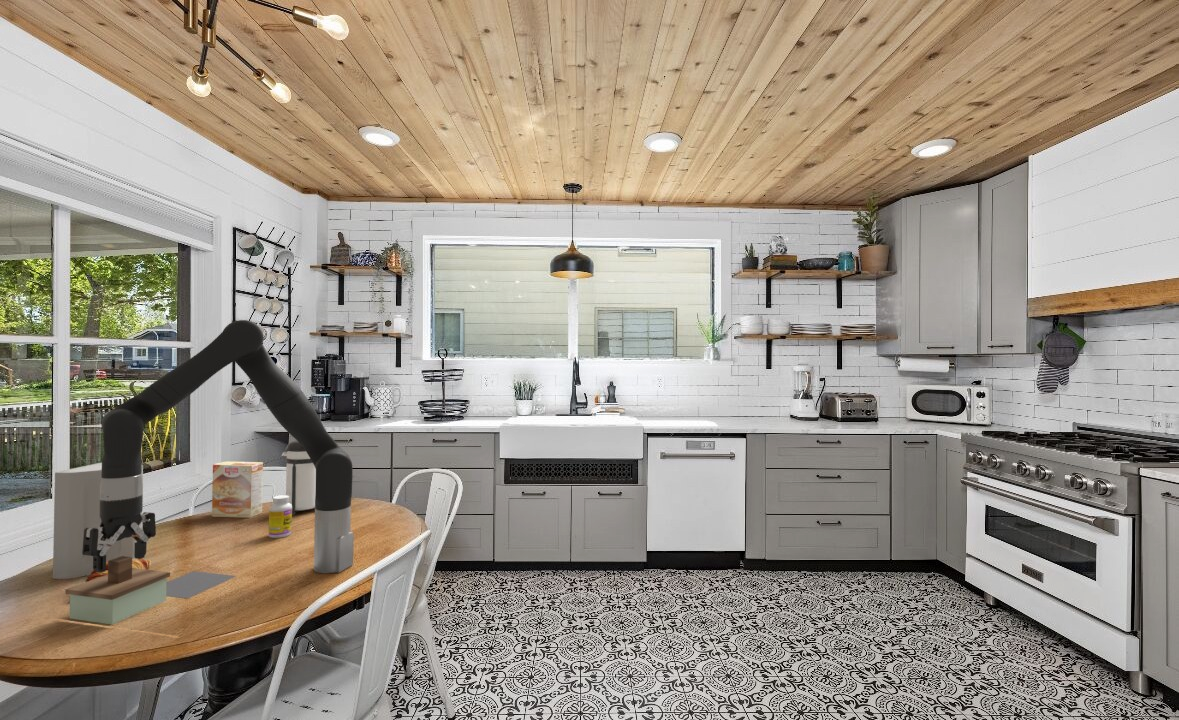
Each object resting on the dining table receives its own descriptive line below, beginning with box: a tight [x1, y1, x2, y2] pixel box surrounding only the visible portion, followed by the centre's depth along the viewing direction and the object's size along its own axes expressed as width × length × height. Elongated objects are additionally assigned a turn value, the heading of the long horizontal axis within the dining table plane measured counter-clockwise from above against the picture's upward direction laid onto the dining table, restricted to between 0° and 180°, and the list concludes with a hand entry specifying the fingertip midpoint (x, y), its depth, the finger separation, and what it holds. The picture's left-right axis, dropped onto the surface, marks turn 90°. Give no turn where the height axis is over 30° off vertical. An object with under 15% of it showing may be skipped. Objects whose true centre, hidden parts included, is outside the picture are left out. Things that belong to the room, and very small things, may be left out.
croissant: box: [84, 558, 152, 583], centre depth 138 cm, size 21×10×8 cm, turn 4°
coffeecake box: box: [211, 460, 264, 519], centre depth 199 cm, size 15×7×20 cm, turn 88°
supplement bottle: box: [268, 494, 293, 539], centre depth 177 cm, size 7×7×13 cm
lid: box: [64, 556, 171, 600], centre depth 123 cm, size 13×13×6 cm
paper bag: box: [52, 461, 144, 580], centre depth 150 cm, size 19×15×28 cm
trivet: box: [166, 570, 237, 600], centre depth 137 cm, size 14×14×1 cm
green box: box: [69, 578, 167, 627], centre depth 123 cm, size 12×12×6 cm
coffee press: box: [281, 439, 316, 517], centre depth 207 cm, size 17×16×30 cm
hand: (120, 564), depth 123 cm, fingers open, 8 cm apart
